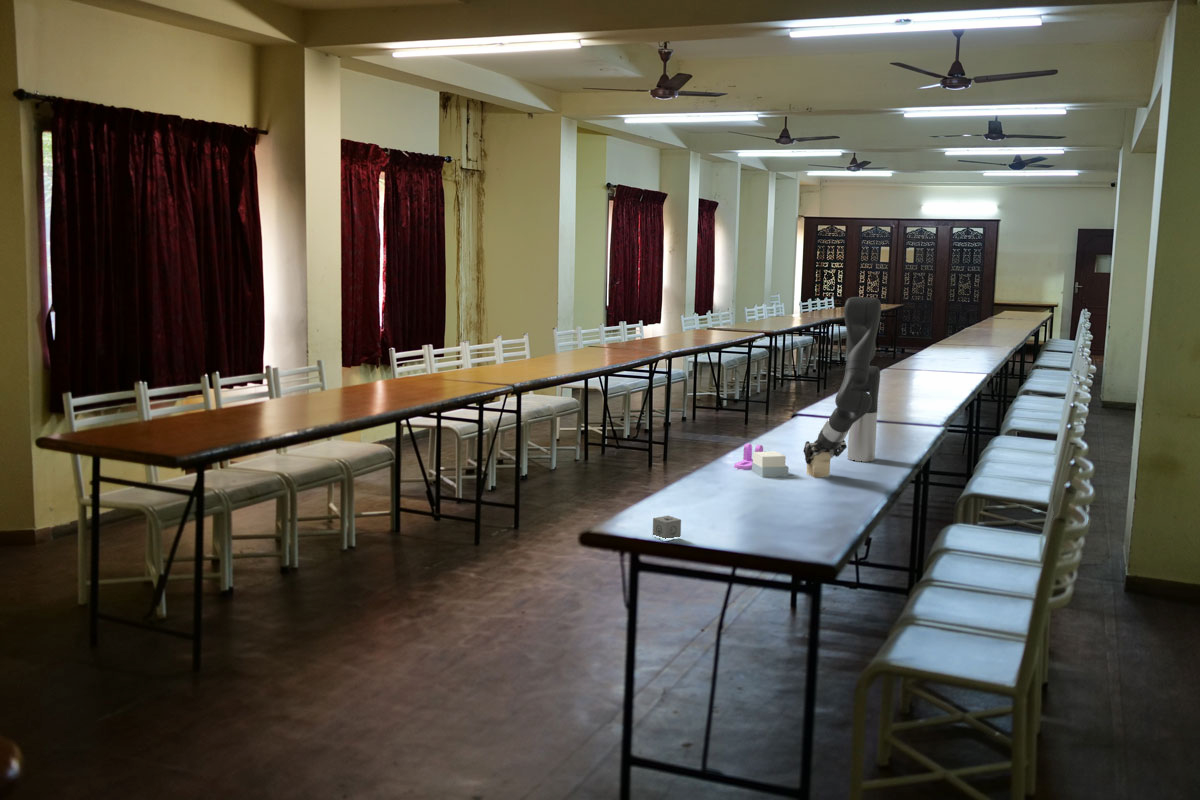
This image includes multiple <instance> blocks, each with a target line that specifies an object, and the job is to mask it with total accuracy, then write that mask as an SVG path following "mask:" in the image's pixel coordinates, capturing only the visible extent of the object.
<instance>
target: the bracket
mask: <svg viewBox="0 0 1200 800" xmlns="http://www.w3.org/2000/svg"><path fill="white" fill-rule="evenodd" d="M754 452H764V446H763V445H762V444H756V446H755V449H754ZM752 462H753V446H752V444H751V443H745V444H744V446H743V459H742V460H739V461H737V462H735V463H734V464H733V468H734V469H735V468H737V469H736V470H740V469H748V470H752V469H751V468H752Z"/></svg>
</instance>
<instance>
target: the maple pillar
mask: <svg viewBox="0 0 1200 800" xmlns="http://www.w3.org/2000/svg"><path fill="white" fill-rule="evenodd" d="M815 450H817V449H816V448H815ZM817 452H818V451H817ZM812 454H813V452H812ZM830 469H831V459H830V455H829V452H822V453H821V454H819V455H818V456H814V457H813V459H812V461H811V463H810V464H807V463H806V475H808V474H809V475H808V476H810V475H811V476H810V477H812V476H813V477H812V478H824V477H823V476H829V477H830V475H831V474H830V473H831V470H830Z"/></svg>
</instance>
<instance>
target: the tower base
mask: <svg viewBox="0 0 1200 800" xmlns="http://www.w3.org/2000/svg"><path fill="white" fill-rule="evenodd" d="M789 470H790V469H789V466H788V465H786V464H785V467H760V466H759V465H757V464H755V463H753V462H752V469H751V472H752V473H754V474H755V475H757V476H759V477H761V478H777V477H776V476H782V477H789Z"/></svg>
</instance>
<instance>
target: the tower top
mask: <svg viewBox="0 0 1200 800" xmlns="http://www.w3.org/2000/svg"><path fill="white" fill-rule="evenodd" d="M786 457H787V456H786V455H784V454H783V453H780V452H778V451H775V450H774V451H763V452H755V451H752V459H753V463H755V464H757V465H759V466H760V467H785V465H786V459H787V458H786Z"/></svg>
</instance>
